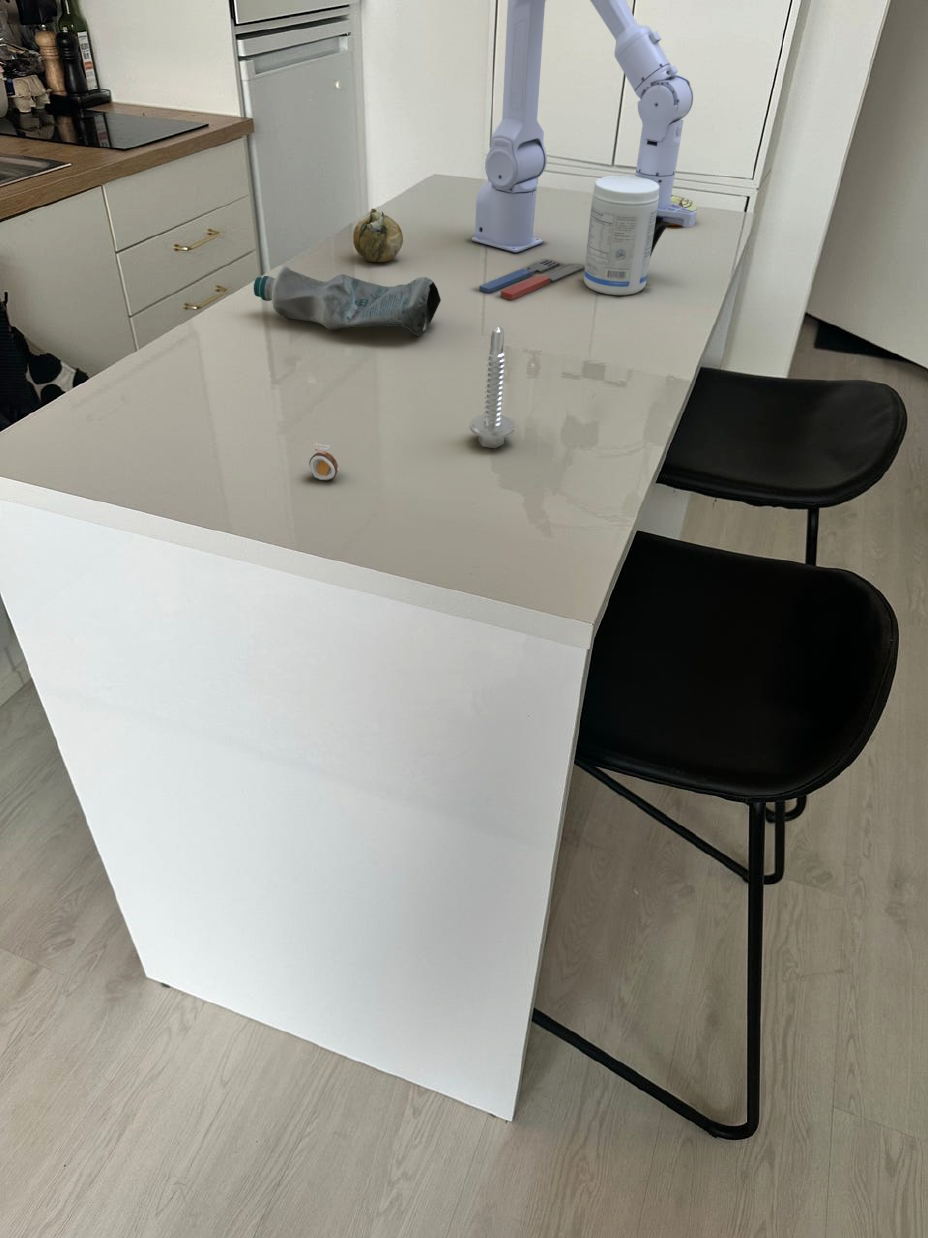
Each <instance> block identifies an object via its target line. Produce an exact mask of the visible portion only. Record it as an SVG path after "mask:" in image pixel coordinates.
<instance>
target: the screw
mask: <svg viewBox="0 0 928 1238" xmlns="http://www.w3.org/2000/svg"><path fill="white" fill-rule="evenodd" d="M490 336H491V337H490V347H489V348H488V350H489V353H487V356H488V358H487V359H486V361H487V362H488V364H486V367H487V369H486V370H485V371H486V373H487V375H486V376H485V377H486V379H487V380H485V383H486V384H487V385H485V389H486V391H485V392H484V393H485V395H486V396H485V397H484V400H486V401H484V405H485V407H484V410H485V412H483V414H479V415H476V416H475V417H474V418H472V419H471V420H470V421H469V430H470V432H472V433H473V434H474V435H476V436H478V442H479V444H480V445H481V447H483V448H490V449H497V448H499V447H501V446H503V445H504V444H505V438H507V437H510V436H511V435H513V433H514V432H515V428H516V426H515V423H514V422H513V421H512V420H511V419H510V418H509V417H507V416H505V415H502V413H503V411H502V409H503V405H502V403H503V401H504V400H503V397H504V395H503V393H504V389H503V388H504V387H505V386H504V382H505V378H504V377H505V370H506V368H505V366H506V362H505V361H506V356H505V354H506V351H505V350H504V347H505V346H504V345H505V331H504V328H503V327H501V326H500V325H497V326H495V327H494V328H493V329H492V332H491V335H490Z"/></svg>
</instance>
